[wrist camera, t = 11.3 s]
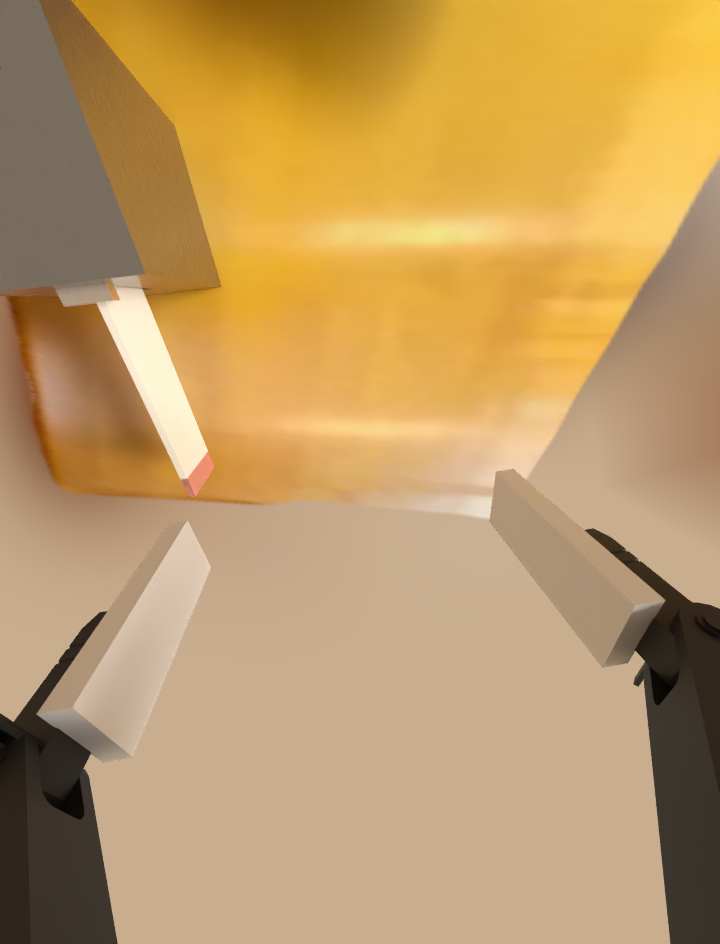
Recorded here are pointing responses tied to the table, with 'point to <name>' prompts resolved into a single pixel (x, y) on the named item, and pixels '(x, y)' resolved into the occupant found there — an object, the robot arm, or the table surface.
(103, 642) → the robot arm
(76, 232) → the dispenser
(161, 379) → the pink-tipped white stick
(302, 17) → the table surface
